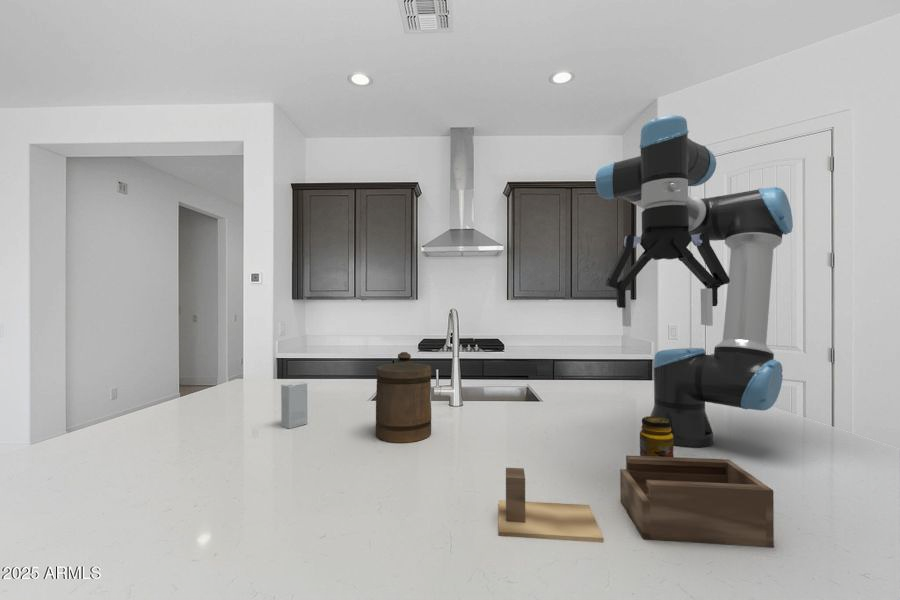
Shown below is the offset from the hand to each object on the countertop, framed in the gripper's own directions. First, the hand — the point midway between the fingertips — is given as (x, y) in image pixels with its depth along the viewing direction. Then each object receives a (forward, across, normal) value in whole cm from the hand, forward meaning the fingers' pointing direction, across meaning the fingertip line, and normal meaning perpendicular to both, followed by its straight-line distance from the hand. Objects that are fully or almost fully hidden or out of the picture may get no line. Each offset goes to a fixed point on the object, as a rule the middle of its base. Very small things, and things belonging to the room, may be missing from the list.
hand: (666, 325), depth 76 cm
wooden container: (+31, -57, +30) cm, 71 cm away
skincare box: (+30, -90, +33) cm, 100 cm away
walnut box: (+31, 0, -8) cm, 32 cm away
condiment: (+31, 0, +8) cm, 33 cm away
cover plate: (+31, -23, -11) cm, 40 cm away
